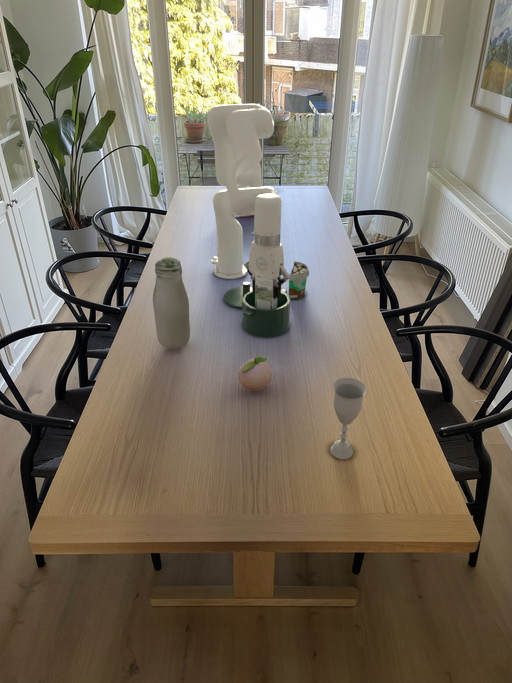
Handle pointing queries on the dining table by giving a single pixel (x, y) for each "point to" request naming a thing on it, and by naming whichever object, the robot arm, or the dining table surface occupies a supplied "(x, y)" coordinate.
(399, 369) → the dining table surface
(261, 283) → the syrup box
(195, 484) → the dining table surface
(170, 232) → the dining table surface
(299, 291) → the food container
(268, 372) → the decorative fruit
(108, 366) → the dining table surface
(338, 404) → the chalice
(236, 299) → the lid
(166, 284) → the glass bottle
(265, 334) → the pot
